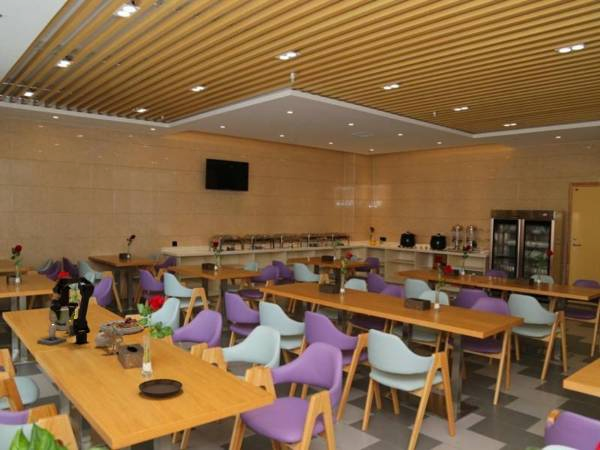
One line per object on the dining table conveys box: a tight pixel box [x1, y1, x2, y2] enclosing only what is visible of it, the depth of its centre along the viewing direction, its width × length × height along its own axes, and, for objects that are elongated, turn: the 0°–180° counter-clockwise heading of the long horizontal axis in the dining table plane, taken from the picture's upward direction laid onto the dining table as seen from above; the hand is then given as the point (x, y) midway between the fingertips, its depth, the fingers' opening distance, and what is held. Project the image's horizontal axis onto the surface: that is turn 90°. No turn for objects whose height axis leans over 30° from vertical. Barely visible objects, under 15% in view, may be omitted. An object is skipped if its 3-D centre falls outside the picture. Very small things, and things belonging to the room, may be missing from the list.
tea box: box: [54, 307, 80, 332], centre depth 369 cm, size 15×10×15 cm, turn 143°
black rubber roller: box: [69, 324, 76, 337], centre depth 349 cm, size 4×4×7 cm
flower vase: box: [94, 324, 124, 355], centre depth 316 cm, size 13×18×25 cm
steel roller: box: [48, 322, 57, 341], centre depth 328 cm, size 4×4×12 cm
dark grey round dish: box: [36, 336, 67, 347], centre depth 328 cm, size 12×12×2 cm
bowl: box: [99, 316, 143, 336], centre depth 367 cm, size 30×30×8 cm
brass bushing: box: [65, 320, 73, 335], centre depth 355 cm, size 4×4×9 cm
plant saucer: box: [138, 378, 183, 398], centre depth 246 cm, size 21×21×3 cm
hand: (64, 318), depth 340 cm, fingers open, 9 cm apart
